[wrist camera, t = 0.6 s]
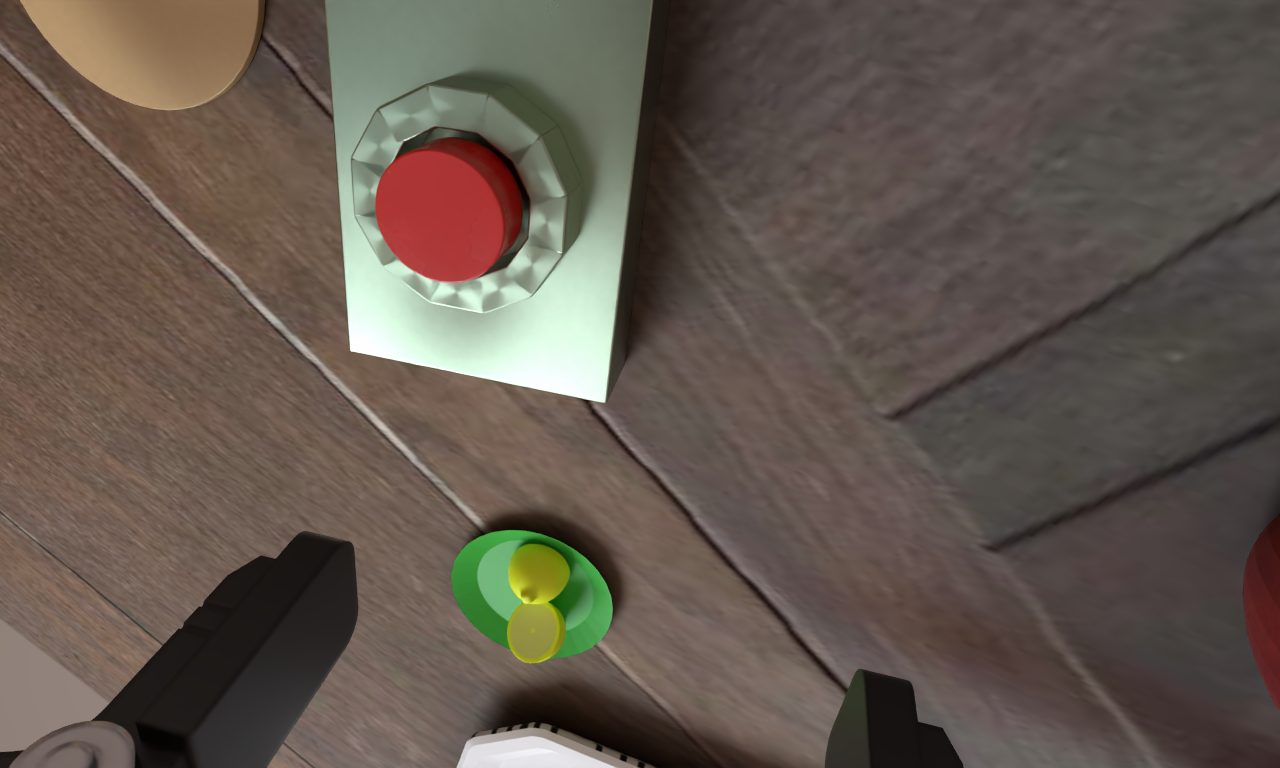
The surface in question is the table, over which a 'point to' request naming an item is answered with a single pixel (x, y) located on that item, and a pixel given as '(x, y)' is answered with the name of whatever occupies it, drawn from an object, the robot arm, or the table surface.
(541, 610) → the lemon halves on plate
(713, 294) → the table surface
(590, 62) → the control block
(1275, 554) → the apple
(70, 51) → the coaster
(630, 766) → the plate
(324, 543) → the robot arm
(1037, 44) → the table surface
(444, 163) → the button
